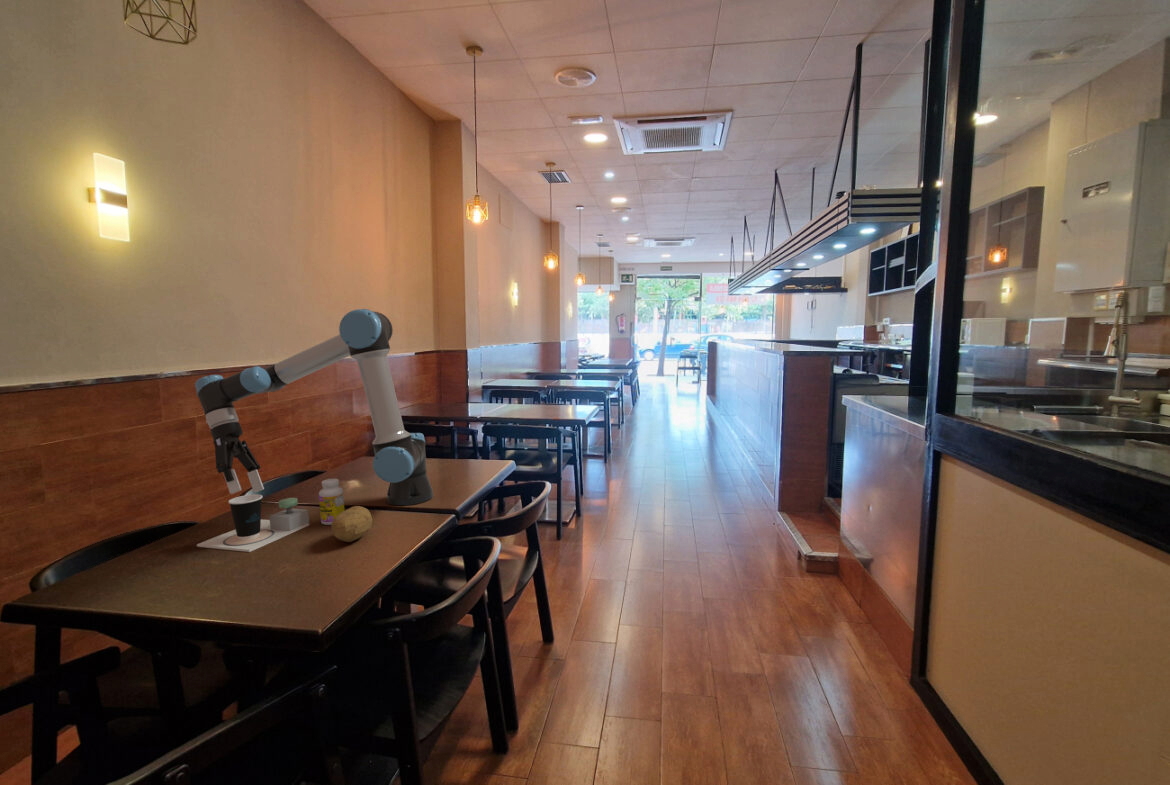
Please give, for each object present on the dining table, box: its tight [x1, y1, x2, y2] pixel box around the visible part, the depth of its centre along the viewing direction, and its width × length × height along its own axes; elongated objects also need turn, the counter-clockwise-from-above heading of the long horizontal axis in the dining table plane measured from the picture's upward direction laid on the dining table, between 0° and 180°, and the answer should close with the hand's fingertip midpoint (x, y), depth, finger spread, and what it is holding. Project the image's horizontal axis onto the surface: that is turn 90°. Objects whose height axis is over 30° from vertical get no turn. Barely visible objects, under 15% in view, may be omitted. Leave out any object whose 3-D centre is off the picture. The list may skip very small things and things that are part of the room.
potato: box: [330, 505, 373, 543], centre depth 139 cm, size 10×14×8 cm
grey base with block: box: [196, 508, 310, 553], centre depth 144 cm, size 18×20×5 cm
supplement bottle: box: [318, 478, 346, 526], centre depth 153 cm, size 7×7×13 cm
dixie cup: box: [228, 493, 263, 540], centre depth 141 cm, size 8×8×11 cm
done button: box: [278, 497, 298, 514], centre depth 149 cm, size 5×5×6 cm
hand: (248, 491), depth 150 cm, fingers open, 13 cm apart
